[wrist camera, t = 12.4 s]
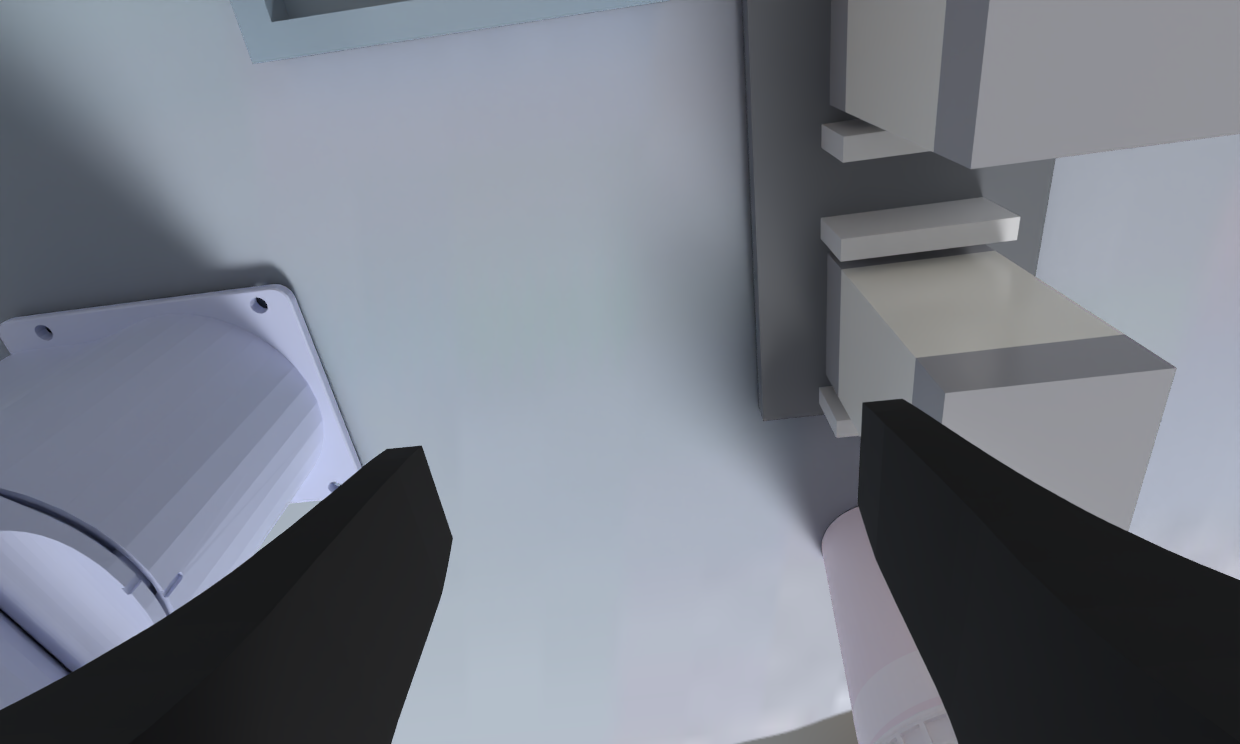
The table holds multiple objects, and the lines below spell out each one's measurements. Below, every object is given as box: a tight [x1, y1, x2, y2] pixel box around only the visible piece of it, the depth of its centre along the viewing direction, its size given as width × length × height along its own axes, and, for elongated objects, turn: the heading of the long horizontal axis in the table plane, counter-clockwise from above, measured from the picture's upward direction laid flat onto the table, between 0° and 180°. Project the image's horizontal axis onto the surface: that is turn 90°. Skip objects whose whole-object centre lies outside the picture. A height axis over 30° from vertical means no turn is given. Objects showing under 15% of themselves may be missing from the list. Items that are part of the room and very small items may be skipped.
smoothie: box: [822, 507, 958, 744], centre depth 19 cm, size 6×6×14 cm
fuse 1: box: [830, 0, 1240, 169], centre depth 13 cm, size 4×4×8 cm
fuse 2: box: [826, 244, 1176, 531], centre depth 16 cm, size 4×4×8 cm
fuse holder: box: [742, 0, 1055, 438], centre depth 16 cm, size 8×23×3 cm, turn 8°
